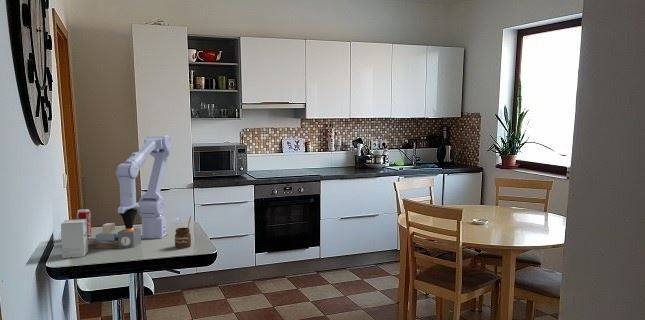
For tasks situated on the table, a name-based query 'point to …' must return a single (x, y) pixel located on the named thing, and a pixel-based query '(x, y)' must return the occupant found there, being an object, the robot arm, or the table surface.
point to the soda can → (85, 215)
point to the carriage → (108, 233)
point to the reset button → (128, 229)
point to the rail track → (101, 243)
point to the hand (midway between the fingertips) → (129, 228)
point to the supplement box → (74, 238)
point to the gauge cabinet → (129, 238)
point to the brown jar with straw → (183, 237)
